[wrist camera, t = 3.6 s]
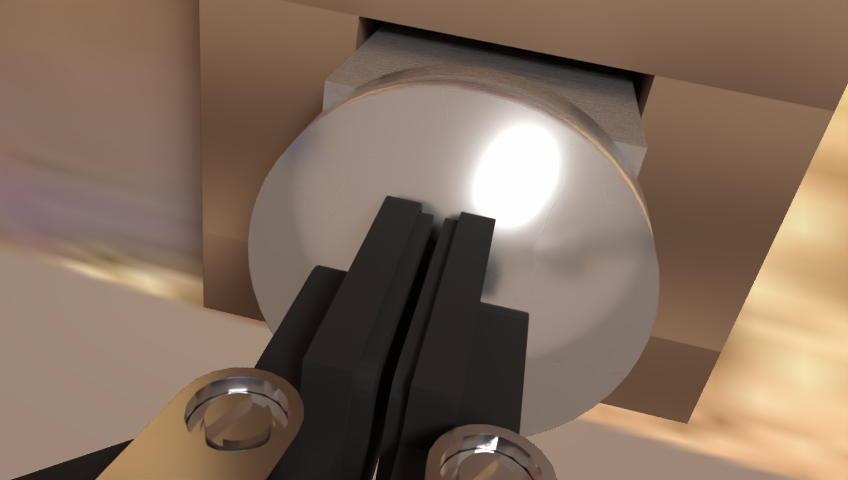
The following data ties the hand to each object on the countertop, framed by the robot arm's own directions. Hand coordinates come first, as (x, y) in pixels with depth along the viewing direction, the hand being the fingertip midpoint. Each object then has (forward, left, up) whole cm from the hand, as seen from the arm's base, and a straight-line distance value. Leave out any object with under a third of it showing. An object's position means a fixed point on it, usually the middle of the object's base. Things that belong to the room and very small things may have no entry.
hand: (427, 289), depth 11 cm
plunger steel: (0, 0, -7) cm, 7 cm away
